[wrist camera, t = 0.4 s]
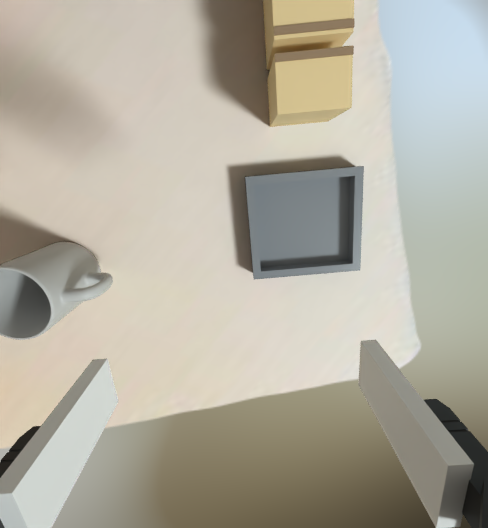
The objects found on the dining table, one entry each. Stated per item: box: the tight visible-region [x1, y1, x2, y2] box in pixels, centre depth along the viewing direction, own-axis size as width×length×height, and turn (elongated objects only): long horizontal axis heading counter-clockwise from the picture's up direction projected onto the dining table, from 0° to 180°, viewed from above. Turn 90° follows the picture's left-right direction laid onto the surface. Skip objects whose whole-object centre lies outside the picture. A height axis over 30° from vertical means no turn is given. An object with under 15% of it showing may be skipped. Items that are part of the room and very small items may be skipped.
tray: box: [245, 166, 364, 279], centre depth 38 cm, size 13×14×2 cm
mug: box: [0, 242, 113, 340], centre depth 35 cm, size 12×8×11 cm
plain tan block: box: [267, 46, 354, 127], centre depth 31 cm, size 5×7×8 cm
